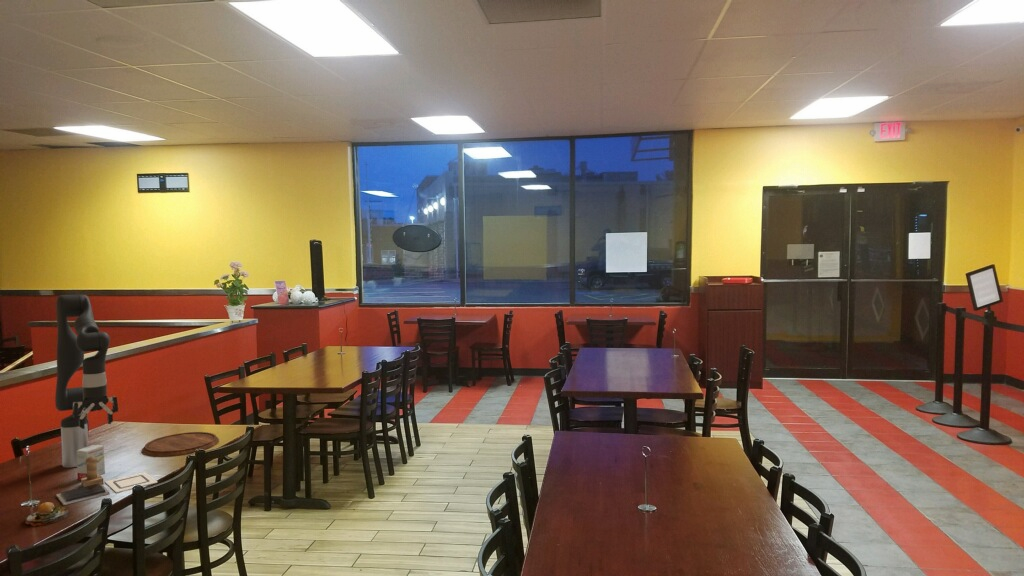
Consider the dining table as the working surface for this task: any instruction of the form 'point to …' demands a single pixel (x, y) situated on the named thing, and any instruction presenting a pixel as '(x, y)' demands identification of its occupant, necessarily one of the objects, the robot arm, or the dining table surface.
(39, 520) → the burger
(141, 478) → the paper sheet
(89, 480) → the stamp
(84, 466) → the ink box
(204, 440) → the cutting board
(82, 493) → the ink pad
